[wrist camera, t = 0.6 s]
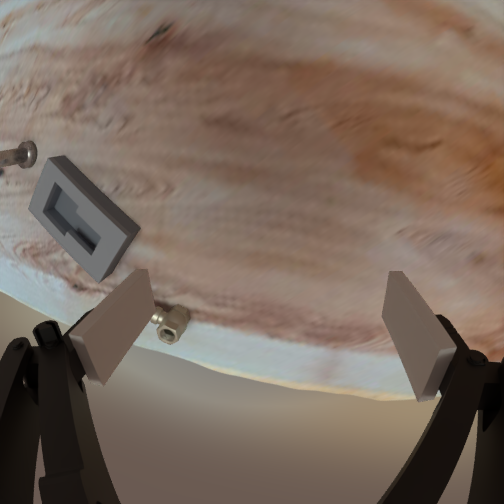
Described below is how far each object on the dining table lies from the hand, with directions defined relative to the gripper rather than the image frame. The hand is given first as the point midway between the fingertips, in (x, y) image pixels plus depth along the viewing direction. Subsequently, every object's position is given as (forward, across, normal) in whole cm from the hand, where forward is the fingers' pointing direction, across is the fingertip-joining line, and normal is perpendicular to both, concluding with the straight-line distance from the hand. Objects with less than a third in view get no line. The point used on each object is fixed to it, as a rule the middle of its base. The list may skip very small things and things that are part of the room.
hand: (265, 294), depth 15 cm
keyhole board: (+27, -33, -1) cm, 42 cm away
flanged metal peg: (+27, -46, +12) cm, 55 cm away
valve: (+27, -20, -17) cm, 38 cm away
